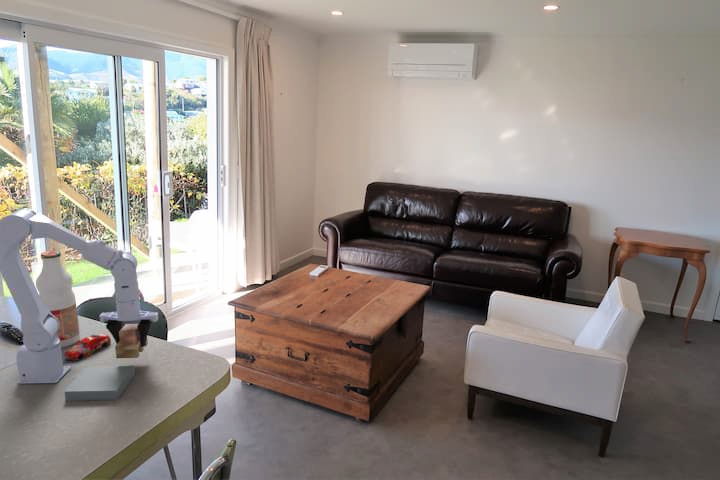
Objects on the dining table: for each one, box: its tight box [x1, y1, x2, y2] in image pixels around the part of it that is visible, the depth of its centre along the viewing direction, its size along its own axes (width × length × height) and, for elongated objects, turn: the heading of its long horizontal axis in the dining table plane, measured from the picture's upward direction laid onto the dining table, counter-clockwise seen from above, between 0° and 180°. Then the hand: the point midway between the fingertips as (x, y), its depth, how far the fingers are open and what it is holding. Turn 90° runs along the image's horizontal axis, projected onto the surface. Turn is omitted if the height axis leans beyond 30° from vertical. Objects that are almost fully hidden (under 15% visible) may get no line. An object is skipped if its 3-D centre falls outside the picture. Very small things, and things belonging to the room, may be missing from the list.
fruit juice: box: [35, 250, 81, 349], centre depth 144 cm, size 9×9×28 cm
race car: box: [64, 333, 112, 361], centre depth 142 cm, size 13×5×4 cm, turn 156°
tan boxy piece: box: [114, 338, 149, 359], centre depth 134 cm, size 6×8×4 cm
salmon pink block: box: [119, 323, 140, 344], centre depth 133 cm, size 4×5×4 cm
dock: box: [64, 365, 136, 402], centre depth 124 cm, size 12×12×2 cm
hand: (131, 345), depth 134 cm, fingers closed on tan boxy piece, 5 cm apart
